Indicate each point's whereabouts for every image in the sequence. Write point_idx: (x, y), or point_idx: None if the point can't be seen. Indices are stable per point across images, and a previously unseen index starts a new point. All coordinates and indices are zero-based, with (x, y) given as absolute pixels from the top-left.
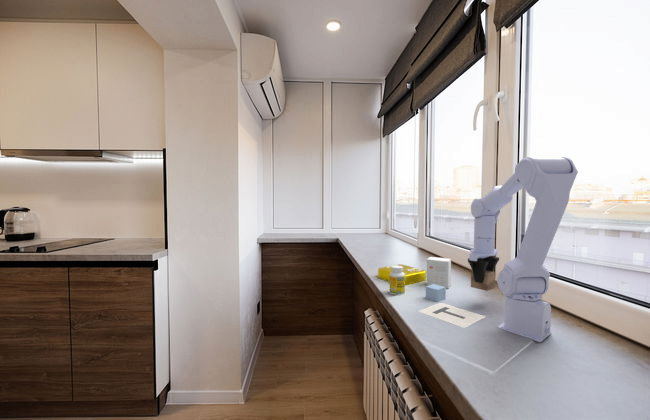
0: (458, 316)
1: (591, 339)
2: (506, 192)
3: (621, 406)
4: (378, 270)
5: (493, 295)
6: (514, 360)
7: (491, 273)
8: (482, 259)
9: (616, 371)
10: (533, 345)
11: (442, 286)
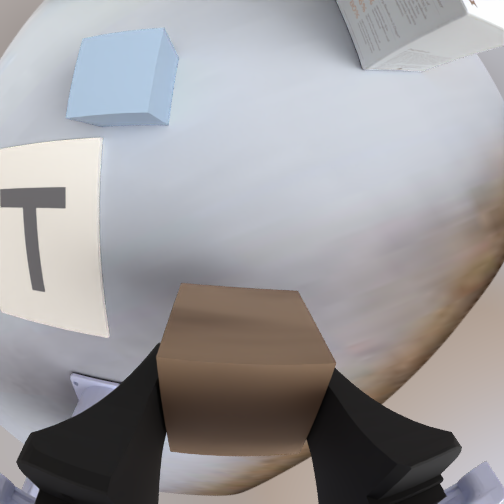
0: (33, 271)
1: (204, 473)
2: None
3: None
4: None
5: (408, 267)
6: (11, 395)
7: (240, 453)
8: (369, 471)
9: None
10: None
11: (147, 90)
